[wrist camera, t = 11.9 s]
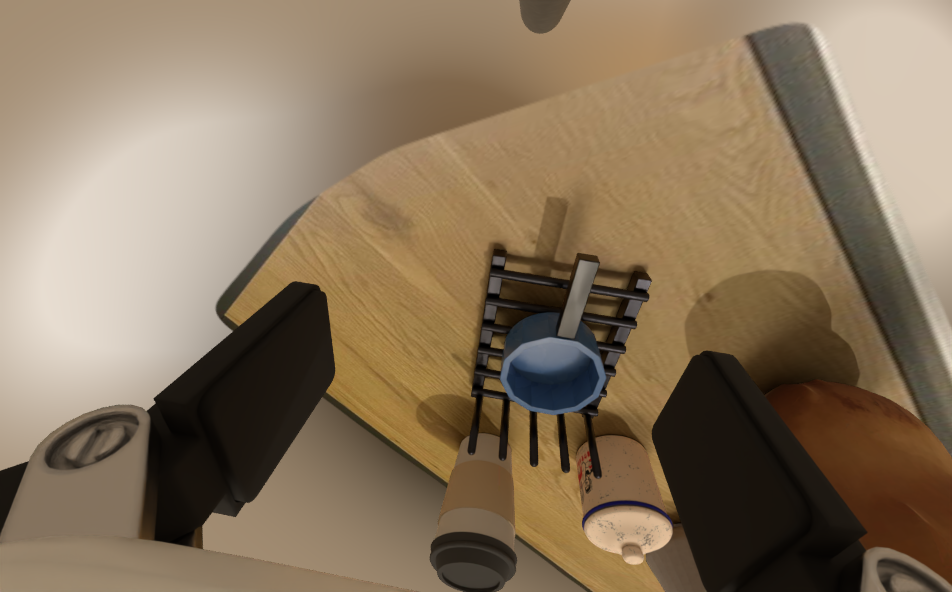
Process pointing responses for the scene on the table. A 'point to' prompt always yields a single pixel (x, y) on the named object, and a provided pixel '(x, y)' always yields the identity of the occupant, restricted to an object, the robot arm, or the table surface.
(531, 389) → the saucepan
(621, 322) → the dish rack
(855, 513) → the butternut squash
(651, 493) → the teacup with lid
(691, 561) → the coffee pot
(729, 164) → the table surface
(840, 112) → the table surface
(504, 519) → the coffee cup
